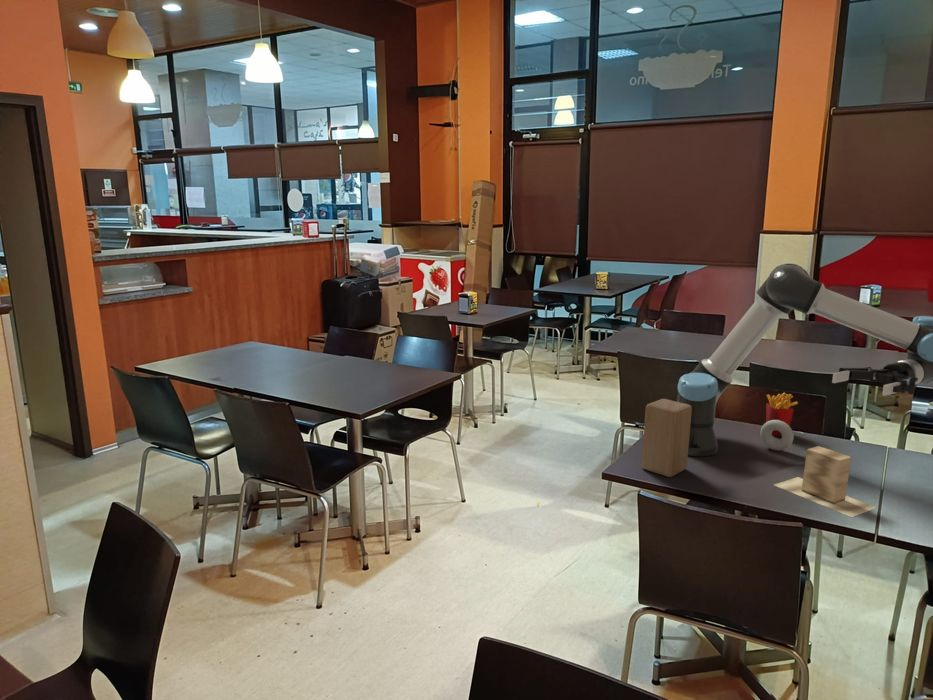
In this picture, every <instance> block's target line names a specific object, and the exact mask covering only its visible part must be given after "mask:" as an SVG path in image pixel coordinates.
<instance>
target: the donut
mask: <svg viewBox="0 0 933 700" xmlns="http://www.w3.org/2000/svg"><path fill="white" fill-rule="evenodd" d="M774 430H777V431H779V432H780V433H781V434H782V437H781V438H780V439H775V438H774V437H773V436H772V434H771V433H772V431H774ZM759 434H760V435H759V437H760V439H761V442H762V443H763V444H764V445H765V447H767V448H768V449H771V450H773V451H780V452H781V451H784V450H787V449H789V448H790V446H792V444H793V441H794V431H793V430H792V428H791V426H790V427H789V425H787V424H786V423H785V422H783V421H780V420H771V421H768V422H764V423H763V425H762V426H761V428H760V432H759Z"/></svg>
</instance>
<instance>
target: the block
mask: <svg viewBox="0 0 933 700" xmlns="http://www.w3.org/2000/svg"><path fill="white" fill-rule="evenodd" d="M691 413H692V406H691V405H688V404H684V403H680V402H677V400H676V401H675V400H672V399H668V398H660V399H658V400H655V401H652V402H650V403H647V404H646V406H645V414H644V423H643V440H642V452H641V468H642V469H643V470H645V471H648V472H652V473H655V474H659V475H662V476H664V477H667V478H672V477H674V476H676V475H678V474H680V473H682V472H683V471H685V470H686V469H687V467H688V458H689V457H688V456H689V455H688V446H689V435H690V424H691Z"/></svg>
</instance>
